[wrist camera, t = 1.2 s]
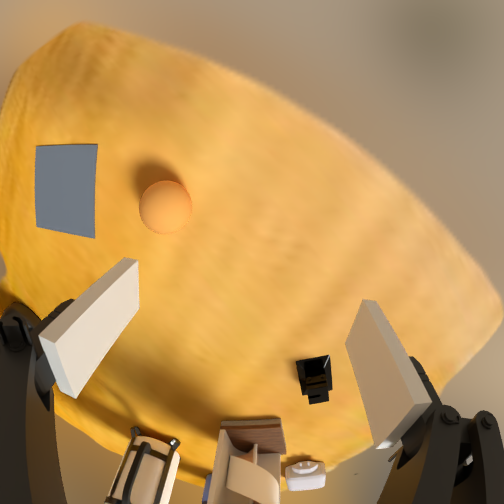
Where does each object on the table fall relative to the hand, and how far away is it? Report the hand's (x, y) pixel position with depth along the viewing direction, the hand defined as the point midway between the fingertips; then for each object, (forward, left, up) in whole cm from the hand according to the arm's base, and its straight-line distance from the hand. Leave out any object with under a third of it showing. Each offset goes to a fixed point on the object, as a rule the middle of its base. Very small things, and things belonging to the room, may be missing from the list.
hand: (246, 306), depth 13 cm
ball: (-10, 0, -15) cm, 18 cm away
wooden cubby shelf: (+6, -41, -18) cm, 45 cm away
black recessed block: (+12, -22, -19) cm, 31 cm away
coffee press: (-15, -53, -18) cm, 58 cm away
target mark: (-27, 0, -18) cm, 32 cm away
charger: (+21, -55, -19) cm, 62 cm away
